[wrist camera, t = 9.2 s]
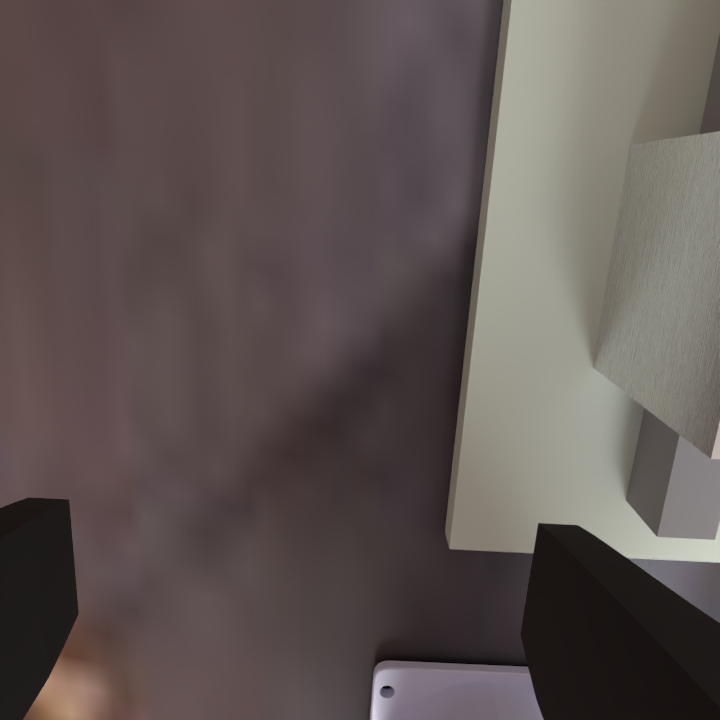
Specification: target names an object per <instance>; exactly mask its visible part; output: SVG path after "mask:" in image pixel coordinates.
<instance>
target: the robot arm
mask: <svg viewBox="0 0 720 720" xmlns="http://www.w3.org/2000/svg"><path fill="white" fill-rule="evenodd" d="M77 616H78V602H77V590H76V578H75V566H74V554H73V542H72V530H71V518H70V506H69V500H65V499H45V498H26V499H24V500H21V501H18V502H15V503H12V504H10V505H7V506H5V507H2V508H0V720H23V718H24V717H25V715H26V713H27V712H28V710H29V709H30V707H31V705H32V704H33V702H34V701H35V699H36V697H37V696H38V694H39V692H40V691H41V689H42V688H43V686H44V684H45V683H46V681H47V679H48V678H49V676H50V674H51V672H52V669H53V667H54V665H55V663H56V661H57V659H58V657H59V655H60V653H61V651H62V649H63V647H64V645H65V642H66V640H67V638H68V636H69V634H70V631H71V629H72V627H73V625H74V622H75V620H76V618H77ZM521 638H522V642H523V646H524V651H525V655H526V660H527V664H528V667H521V666H499V665H477V664H455V663H433V662H410V661H382V662H380V663H378V664H377V665H376V667H375V668H374V671H373V683H372V696H371V709H370V720H720V623H718V622H717V621H715V620H714V619H713V618H711V617H710V616H708V615H707V614H705V613H704V612H702V611H701V610H699V609H698V608H696V607H695V606H693V605H692V604H691V603H689V602H688V601H686V600H685V599H683V598H682V597H680V596H679V595H678V594H676V593H675V592H673V591H672V590H671V589H669V588H668V587H666V586H665V585H663V584H662V583H661V582H659V581H658V580H656V579H655V578H654V577H652V576H651V575H650V574H648V573H647V572H645V571H644V570H643V569H641V568H640V567H638V566H637V565H636V564H634V563H633V562H631V561H630V560H629V559H627V558H626V557H625V556H623V555H622V554H620V553H619V552H618V551H616V550H615V549H613V548H612V547H610V546H609V545H608V544H606V543H605V542H603V541H602V540H600V539H599V538H597V537H596V536H594V535H593V534H591V533H590V532H588V531H587V530H585V529H583V528H582V527H580V526H578V525H565V524H545V523H538V528H537V534H536V541H535V547H534V553H533V560H532V566H531V572H530V578H529V585H528V591H527V597H526V604H525V610H524V616H523V623H522V629H521ZM383 686H391V688H389V689H384V688H382V687H383Z"/></svg>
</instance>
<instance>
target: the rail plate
mask: <svg viewBox="0 0 720 720" xmlns="http://www.w3.org/2000/svg"><path fill="white" fill-rule="evenodd" d="M717 131H720V0H504V1H503V10H502V19H501V28H500V37H499V46H498V55H497V64H496V73H495V82H494V91H493V100H492V109H491V119H490V128H489V137H488V146H487V155H486V164H485V173H484V182H483V191H482V200H481V209H480V218H479V227H478V236H477V245H476V254H475V263H474V272H473V282H472V291H471V300H470V309H469V318H468V327H467V336H466V345H465V354H464V363H463V372H462V381H461V390H460V399H459V408H458V417H457V426H456V435H455V445H454V454H453V463H452V472H451V481H450V490H449V499H448V508H447V517H446V526H445V534H446V538H447V542H448V546H449V549H455V550H475V551H495V552H516V553H534V547H535V541H536V534H537V528H538V523H545V524H565V525H578V526H580V527H582V528H583V529H585V530H587V531H588V532H590V533H591V534H593V535H594V536H596V537H597V538H599V539H600V540H602V541H603V542H605V543H606V544H608V545H609V546H610V547H612V548H613V549H615V550H616V551H618V552H619V553H620V554H622V555H623V556H625V557H626V558H638V559H659V560H679V561H699V562H720V459H710V458H709V457H708V456H707V455H705V454H704V453H703V452H701V451H700V450H699V449H698V448H696V447H695V446H694V445H692V444H691V443H690V442H688V441H687V440H686V439H685V438H683V437H682V436H681V435H679V434H678V433H677V432H675V431H674V430H673V429H672V428H670V427H669V426H668V425H666V424H665V423H664V422H663V421H661V420H660V419H659V418H657V417H656V416H655V415H653V414H652V413H651V412H650V411H648V410H647V409H646V408H644V407H643V406H642V405H640V404H639V403H638V402H637V401H635V400H634V399H633V398H631V397H630V396H629V395H628V394H626V393H625V392H624V391H622V390H621V389H620V388H618V387H617V386H616V385H615V384H613V383H612V382H611V381H609V380H608V379H607V378H605V377H604V376H603V375H602V374H600V373H599V372H598V371H596V370H595V369H594V368H593V361H594V355H595V349H596V343H597V337H598V332H599V326H600V320H601V314H602V308H603V302H604V296H605V290H606V284H607V278H608V272H609V266H610V260H611V254H612V248H613V242H614V236H615V230H616V224H617V218H618V212H619V206H620V200H621V194H622V188H623V182H624V176H625V170H626V164H627V158H628V152H629V146H630V145H632V144H639V143H645V142H652V141H658V140H665V139H671V138H678V137H685V136H691V135H698V134H704V133H711V132H717Z"/></svg>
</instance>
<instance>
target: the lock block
mask: <svg viewBox="0 0 720 720" xmlns="http://www.w3.org/2000/svg"><path fill="white" fill-rule="evenodd" d="M593 368H594V369H595V370H596V371H598V372H599V373H600V374H602V375H603V376H604V377H605V378H607V379H608V380H609V381H611V382H612V383H613V384H615V385H616V386H617V387H618V388H620V389H621V390H622V391H624V392H625V393H626V394H628V395H629V396H630V397H631V398H633V399H634V400H635V401H637V402H638V403H639V404H640V405H642V406H643V407H644V408H646V409H647V410H648V411H650V412H651V413H652V414H653V415H655V416H656V417H657V418H659V419H660V420H661V421H663V422H664V423H665V424H666V425H668V426H669V427H670V428H672V429H673V430H674V431H675V432H677V433H678V434H679V435H681V436H682V437H683V438H685V439H686V440H687V441H688V442H690V443H691V444H692V445H694V446H695V447H696V448H698V449H699V450H700V451H701V452H703V453H704V454H705V455H707V456H708V457H709V458H710V459H720V131H717V132H711V133H704V134H698V135H691V136H685V137H678V138H671V139H665V140H658V141H652V142H645V143H639V144H632V145H630V146H629V152H628V158H627V164H626V170H625V176H624V182H623V188H622V194H621V200H620V206H619V212H618V218H617V224H616V230H615V236H614V242H613V248H612V254H611V260H610V266H609V272H608V278H607V284H606V290H605V296H604V302H603V308H602V314H601V320H600V326H599V332H598V337H597V343H596V349H595V355H594V361H593Z"/></svg>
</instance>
